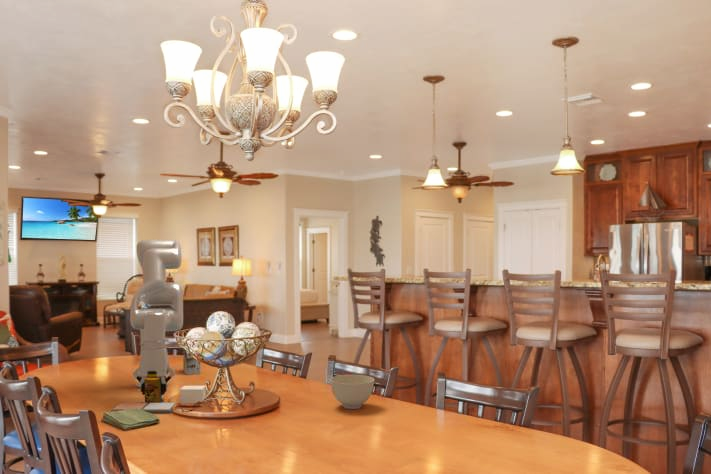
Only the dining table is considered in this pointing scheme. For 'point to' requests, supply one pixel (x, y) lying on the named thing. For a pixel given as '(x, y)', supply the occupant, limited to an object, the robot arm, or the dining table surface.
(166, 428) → the dining table surface
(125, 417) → the washcloth
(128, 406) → the board
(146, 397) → the condiment
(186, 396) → the white block
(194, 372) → the coffee box
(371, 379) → the bowl
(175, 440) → the dining table surface
